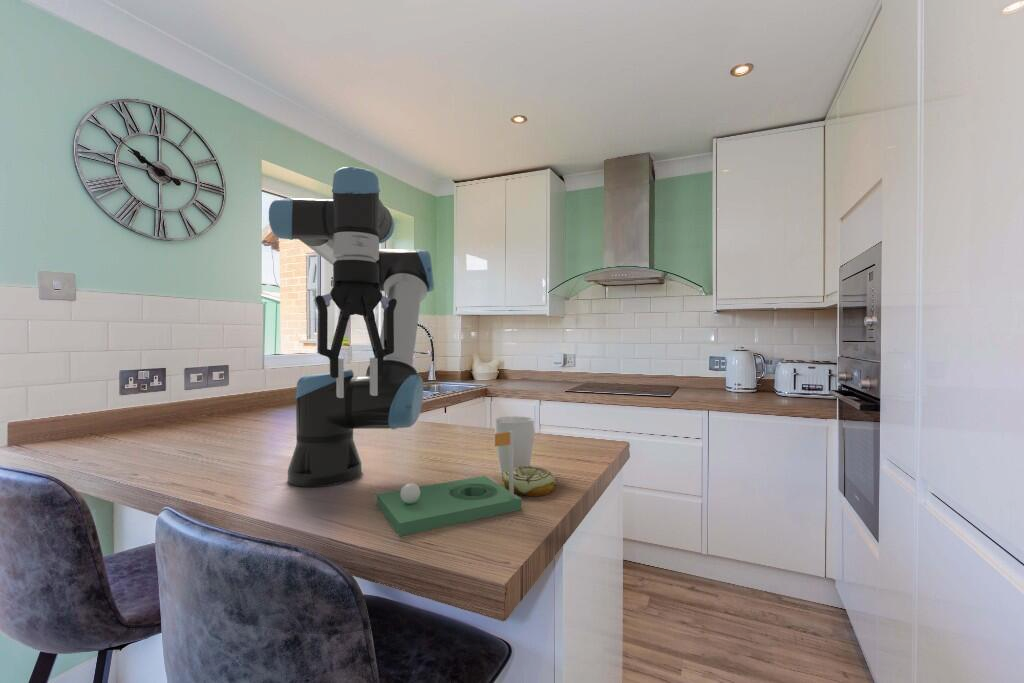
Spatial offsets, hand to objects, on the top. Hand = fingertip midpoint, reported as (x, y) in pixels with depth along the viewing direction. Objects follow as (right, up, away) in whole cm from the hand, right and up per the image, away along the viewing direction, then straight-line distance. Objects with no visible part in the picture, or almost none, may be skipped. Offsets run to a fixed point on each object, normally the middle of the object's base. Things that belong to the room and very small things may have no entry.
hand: (357, 395), depth 78 cm
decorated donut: (+30, -21, +14) cm, 39 cm away
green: (+15, -21, +4) cm, 26 cm away
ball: (+9, -17, 0) cm, 19 cm away
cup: (+27, -21, +25) cm, 42 cm away
